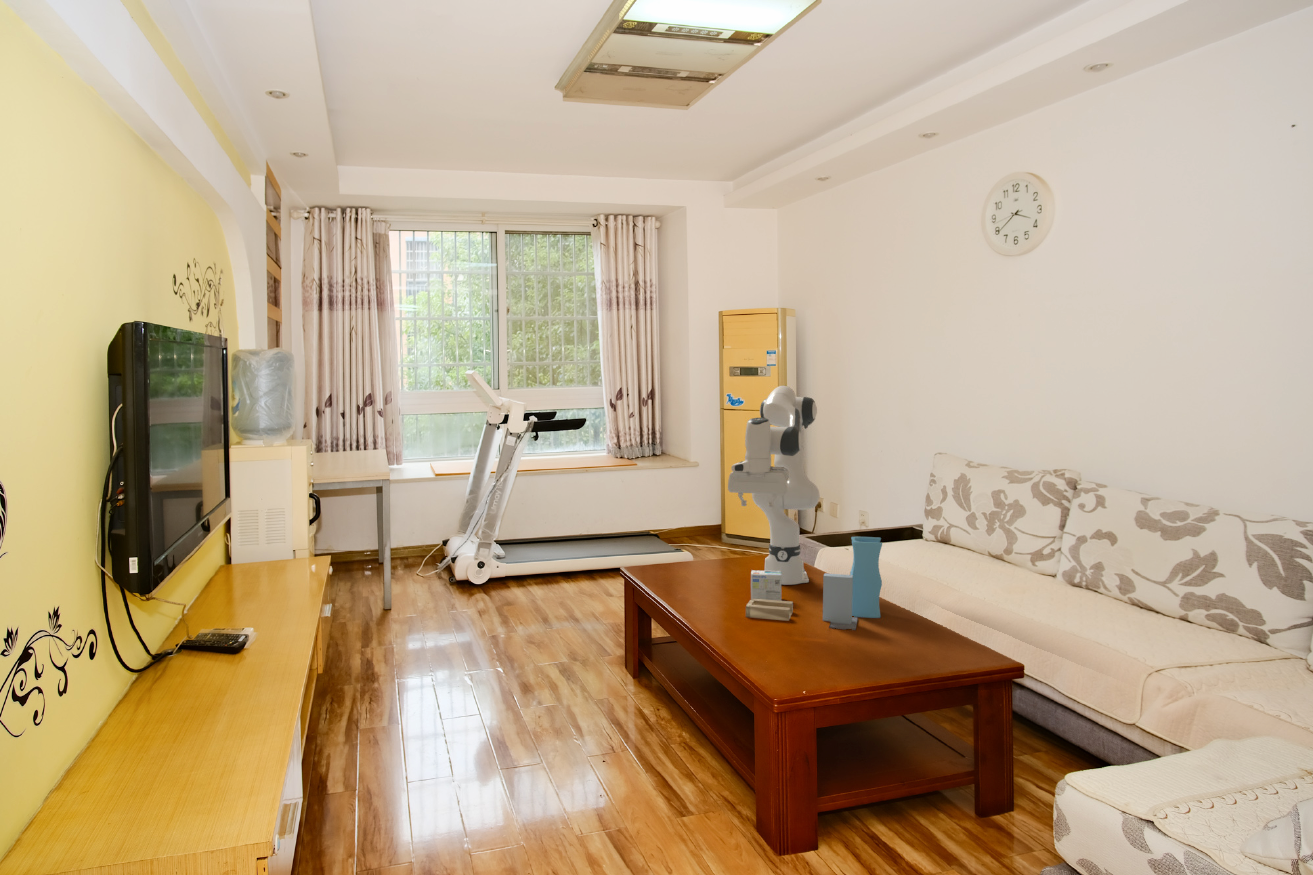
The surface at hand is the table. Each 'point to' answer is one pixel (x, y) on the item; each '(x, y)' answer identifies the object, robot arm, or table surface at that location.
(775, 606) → the birch box
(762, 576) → the light bulb box
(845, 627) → the felt pad
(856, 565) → the vase
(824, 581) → the cover plate
